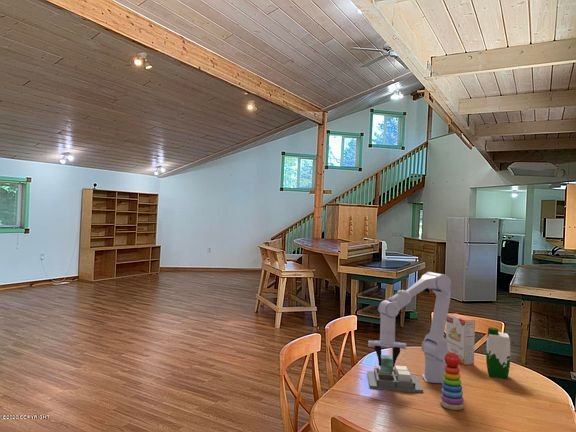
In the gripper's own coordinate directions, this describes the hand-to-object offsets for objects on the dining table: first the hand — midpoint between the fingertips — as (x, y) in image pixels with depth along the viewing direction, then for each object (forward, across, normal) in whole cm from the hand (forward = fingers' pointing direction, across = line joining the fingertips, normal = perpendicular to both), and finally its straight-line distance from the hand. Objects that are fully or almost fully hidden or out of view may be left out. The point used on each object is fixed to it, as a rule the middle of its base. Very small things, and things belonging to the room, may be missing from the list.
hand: (386, 365), depth 164 cm
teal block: (+2, 0, 0) cm, 2 cm away
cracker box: (+8, +38, +39) cm, 56 cm away
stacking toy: (+8, +21, -15) cm, 27 cm away
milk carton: (+8, +49, +21) cm, 54 cm away
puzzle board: (+8, +3, +3) cm, 9 cm away
